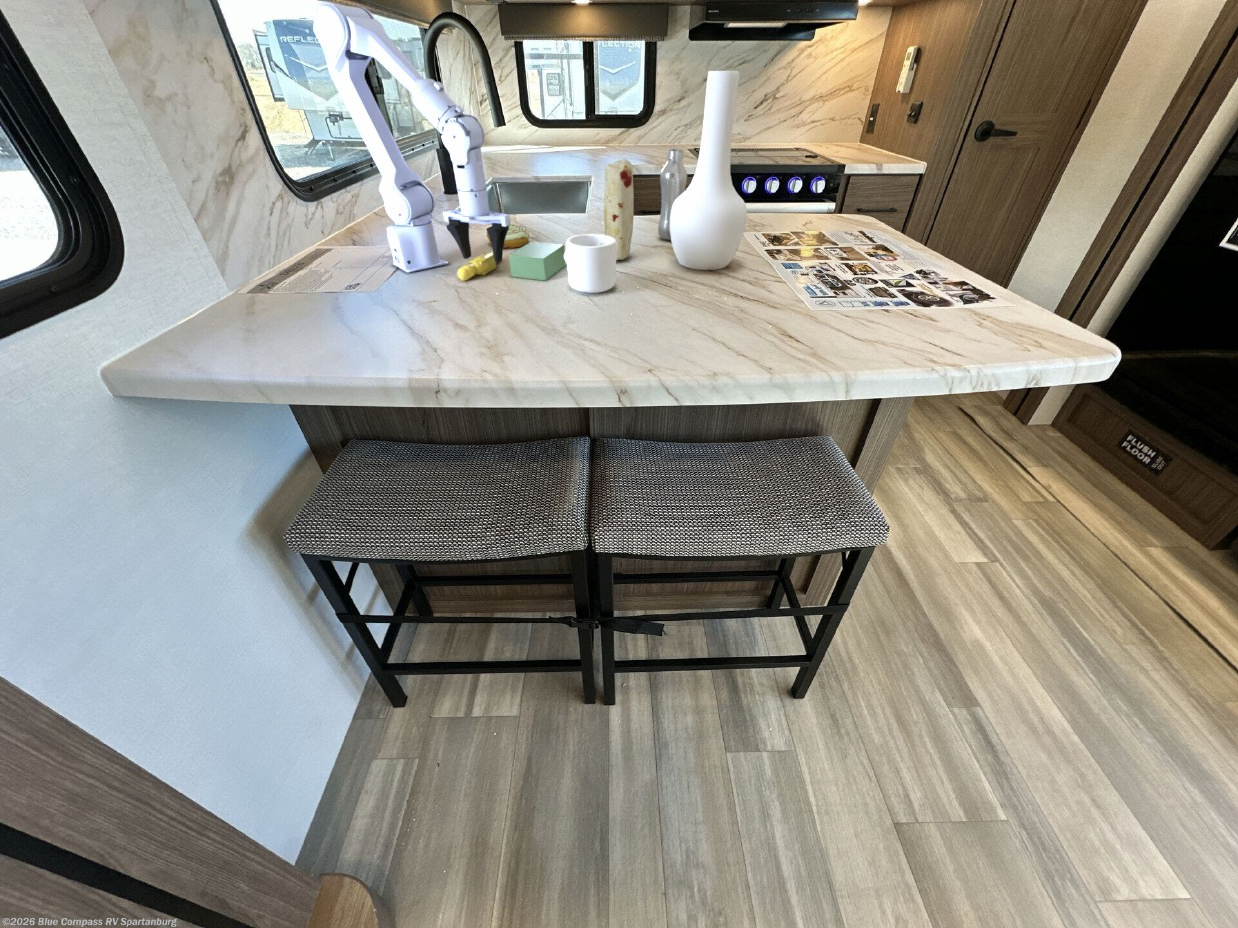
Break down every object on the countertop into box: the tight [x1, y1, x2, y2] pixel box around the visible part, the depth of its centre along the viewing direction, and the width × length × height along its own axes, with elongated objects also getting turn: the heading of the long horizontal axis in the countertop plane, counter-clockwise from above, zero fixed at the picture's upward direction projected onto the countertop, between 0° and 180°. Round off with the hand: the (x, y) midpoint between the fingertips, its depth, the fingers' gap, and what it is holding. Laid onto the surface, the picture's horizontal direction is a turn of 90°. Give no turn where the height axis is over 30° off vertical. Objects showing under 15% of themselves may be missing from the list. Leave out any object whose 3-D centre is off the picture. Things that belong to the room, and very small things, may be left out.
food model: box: [603, 158, 635, 261], centre depth 113 cm, size 10×7×20 cm
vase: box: [670, 70, 748, 271], centre depth 106 cm, size 17×17×35 cm
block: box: [508, 241, 566, 281], centre depth 110 cm, size 11×8×4 cm
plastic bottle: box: [657, 148, 688, 241], centre depth 126 cm, size 6×7×20 cm
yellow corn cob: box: [456, 249, 498, 281], centre depth 110 cm, size 16×4×3 cm, turn 162°
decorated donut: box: [486, 224, 530, 249], centre depth 127 cm, size 10×11×4 cm
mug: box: [564, 233, 617, 294], centre depth 101 cm, size 12×10×9 cm
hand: (483, 259), depth 109 cm, fingers open, 7 cm apart
